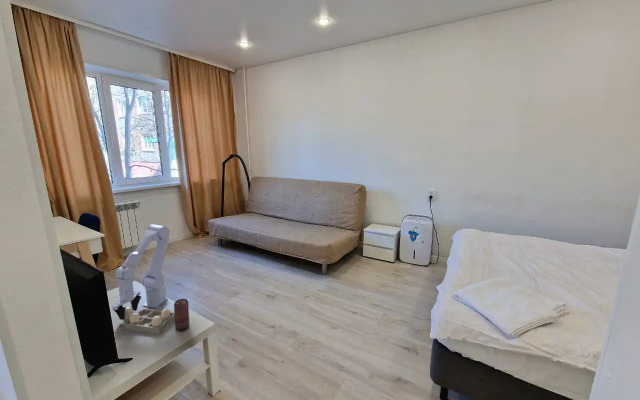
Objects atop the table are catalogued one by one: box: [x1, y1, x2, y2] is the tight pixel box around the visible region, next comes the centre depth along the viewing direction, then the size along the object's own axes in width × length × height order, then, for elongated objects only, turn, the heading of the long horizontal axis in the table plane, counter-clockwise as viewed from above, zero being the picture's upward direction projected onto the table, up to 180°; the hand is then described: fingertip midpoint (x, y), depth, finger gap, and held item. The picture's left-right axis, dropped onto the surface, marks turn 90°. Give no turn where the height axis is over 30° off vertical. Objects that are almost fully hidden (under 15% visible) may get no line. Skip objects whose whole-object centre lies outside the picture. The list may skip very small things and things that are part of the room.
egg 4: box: [161, 308, 171, 320], centre depth 134 cm, size 4×4×6 cm
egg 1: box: [123, 306, 134, 321], centre depth 136 cm, size 4×4×6 cm
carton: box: [122, 308, 175, 335], centre depth 132 cm, size 12×18×3 cm
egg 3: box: [152, 316, 162, 328], centre depth 128 cm, size 4×4×6 cm
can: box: [173, 298, 190, 333], centre depth 129 cm, size 6×6×14 cm
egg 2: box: [129, 312, 140, 324], centre depth 129 cm, size 4×4×6 cm
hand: (128, 314), depth 136 cm, fingers open, 7 cm apart
